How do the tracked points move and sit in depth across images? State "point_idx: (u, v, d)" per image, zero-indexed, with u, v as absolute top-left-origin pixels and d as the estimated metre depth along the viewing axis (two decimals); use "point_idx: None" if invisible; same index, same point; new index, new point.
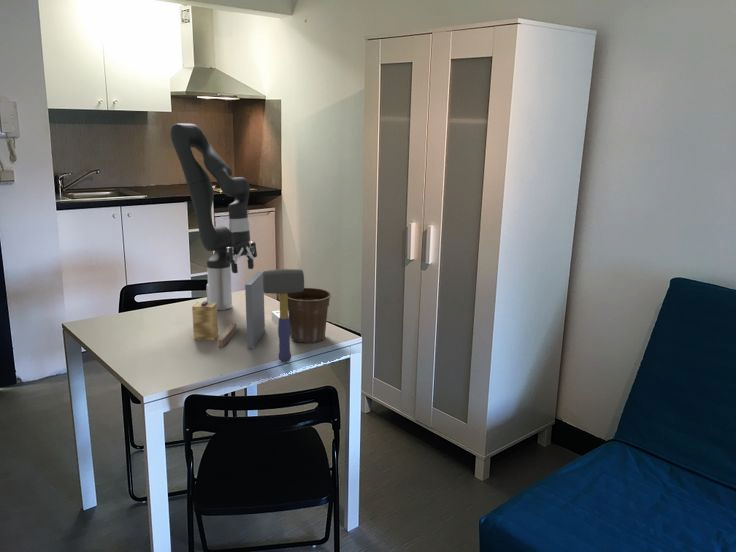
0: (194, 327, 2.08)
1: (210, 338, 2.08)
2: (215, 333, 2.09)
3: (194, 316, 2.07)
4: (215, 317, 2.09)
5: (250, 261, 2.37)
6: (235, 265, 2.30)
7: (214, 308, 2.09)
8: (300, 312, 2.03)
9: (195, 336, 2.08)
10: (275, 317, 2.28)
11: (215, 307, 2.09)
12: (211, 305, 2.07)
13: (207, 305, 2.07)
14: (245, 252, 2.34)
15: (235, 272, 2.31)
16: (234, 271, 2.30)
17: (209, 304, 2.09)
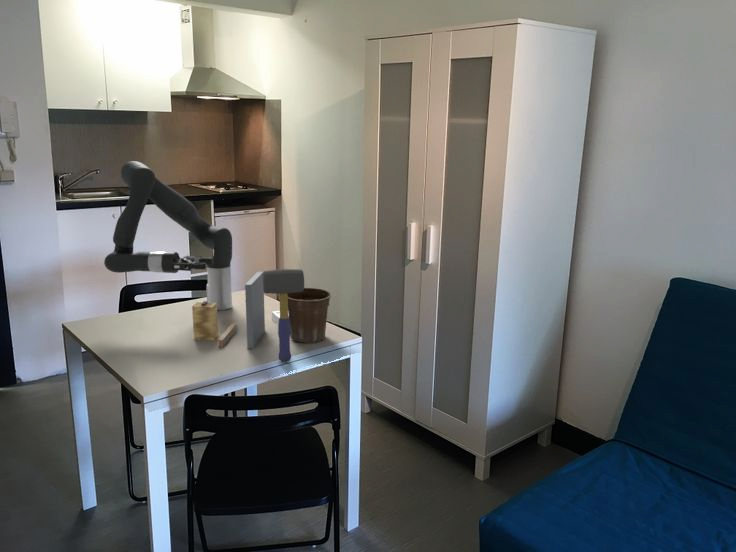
0: (194, 327, 2.08)
1: (210, 338, 2.08)
2: (215, 333, 2.09)
3: (194, 316, 2.07)
4: (215, 317, 2.09)
5: None
6: None
7: (214, 308, 2.09)
8: (300, 312, 2.03)
9: (195, 336, 2.08)
10: (275, 317, 2.27)
11: (215, 307, 2.09)
12: (211, 305, 2.07)
13: (207, 305, 2.07)
14: None
15: None
16: None
17: (209, 304, 2.09)
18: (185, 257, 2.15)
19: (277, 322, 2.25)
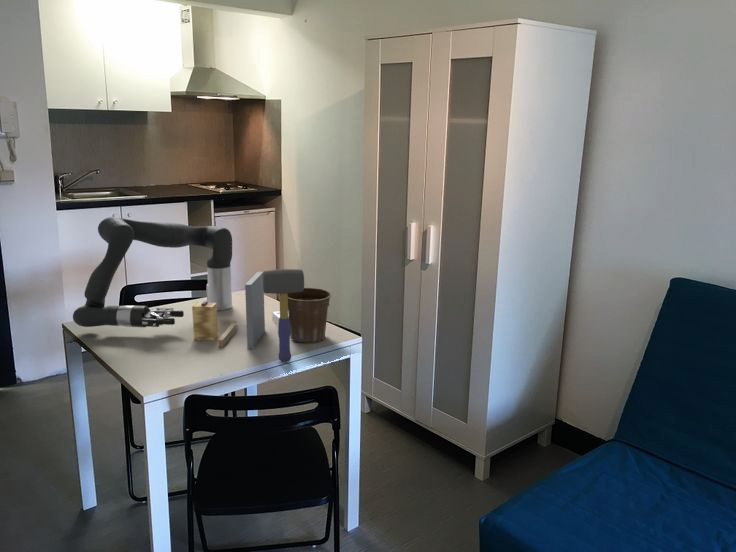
0: (194, 327, 2.08)
1: (210, 338, 2.08)
2: (215, 333, 2.09)
3: (194, 316, 2.07)
4: (215, 317, 2.09)
5: None
6: None
7: (214, 308, 2.09)
8: (300, 312, 2.03)
9: (195, 336, 2.08)
10: (275, 317, 2.27)
11: (215, 307, 2.09)
12: (211, 305, 2.07)
13: (207, 305, 2.07)
14: None
15: None
16: None
17: (209, 304, 2.09)
18: (155, 311, 2.10)
19: (277, 323, 2.25)
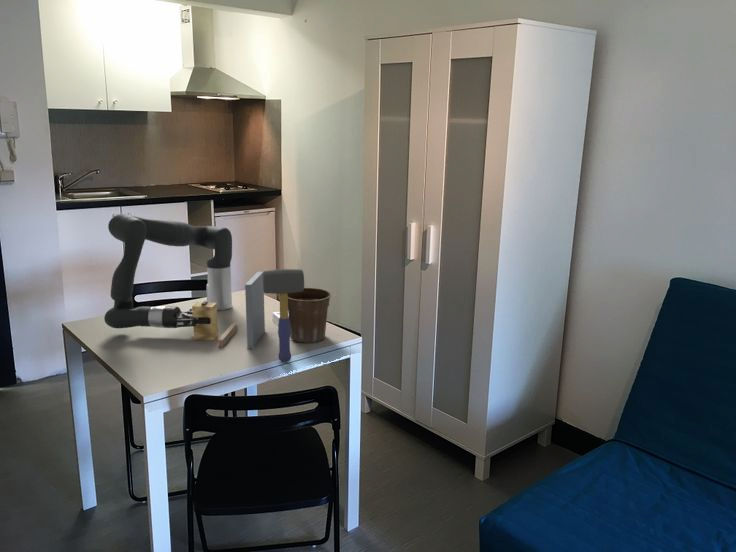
0: (194, 327, 2.08)
1: (210, 338, 2.08)
2: (215, 333, 2.09)
3: (194, 316, 2.07)
4: (215, 317, 2.09)
5: None
6: None
7: (214, 308, 2.09)
8: (300, 312, 2.03)
9: (195, 336, 2.08)
10: (276, 318, 2.26)
11: (215, 307, 2.09)
12: (211, 305, 2.07)
13: (207, 305, 2.07)
14: None
15: None
16: None
17: (209, 304, 2.09)
18: (186, 312, 2.10)
19: (278, 323, 2.24)
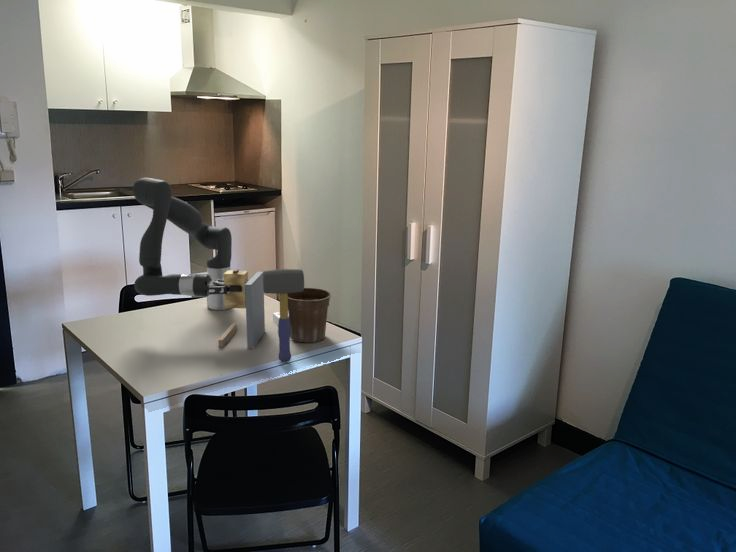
0: (225, 295, 2.04)
1: (241, 306, 2.05)
2: None
3: (225, 284, 2.03)
4: None
5: None
6: None
7: (246, 276, 2.05)
8: (300, 312, 2.03)
9: (226, 304, 2.05)
10: (276, 318, 2.26)
11: (246, 275, 2.06)
12: (243, 273, 2.04)
13: (238, 273, 2.04)
14: None
15: None
16: None
17: (240, 272, 2.05)
18: (216, 280, 2.06)
19: None
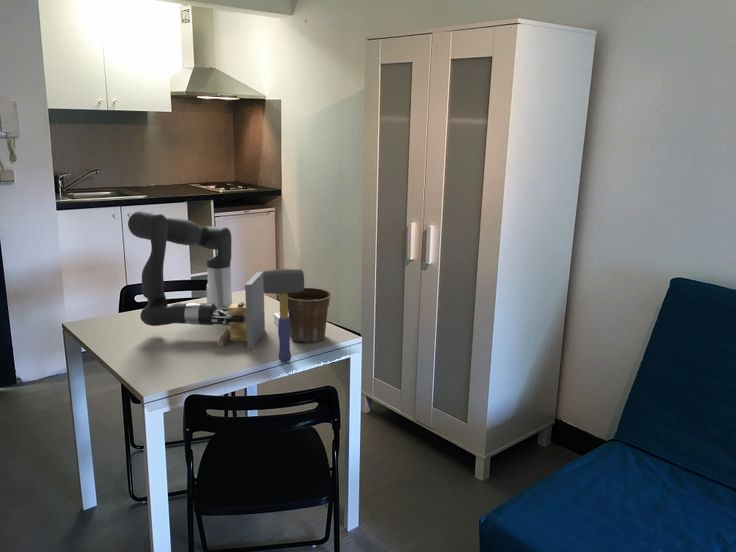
0: (231, 328, 2.07)
1: (246, 339, 2.08)
2: None
3: None
4: None
5: None
6: None
7: None
8: (300, 312, 2.03)
9: (231, 337, 2.08)
10: (277, 319, 2.25)
11: None
12: None
13: (243, 306, 2.07)
14: None
15: None
16: None
17: (245, 305, 2.08)
18: (222, 309, 2.09)
19: None
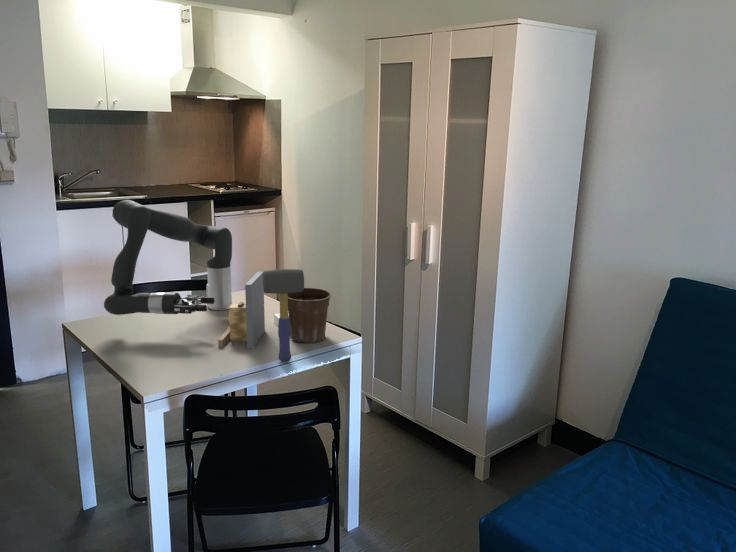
0: (231, 328, 2.07)
1: (246, 339, 2.08)
2: None
3: (230, 317, 2.06)
4: None
5: None
6: None
7: None
8: (300, 312, 2.03)
9: (231, 337, 2.08)
10: (277, 319, 2.24)
11: None
12: None
13: (243, 306, 2.07)
14: None
15: None
16: None
17: (245, 305, 2.08)
18: (186, 298, 2.09)
19: None
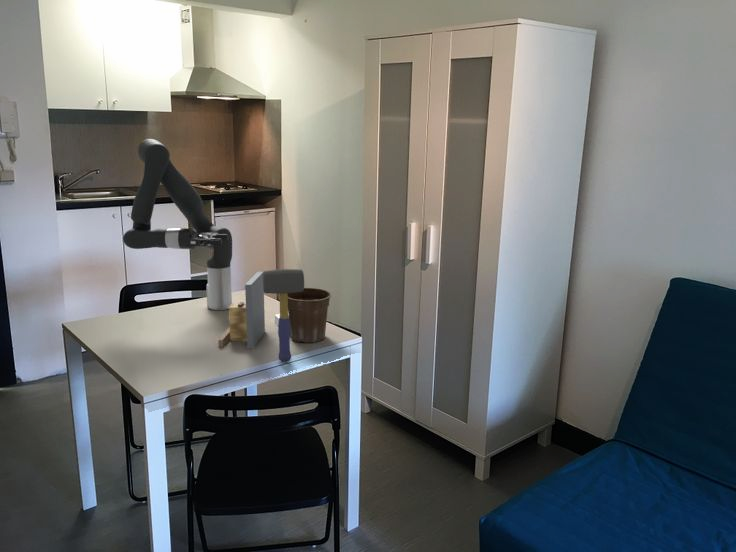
0: (231, 328, 2.07)
1: (246, 339, 2.08)
2: None
3: (230, 317, 2.06)
4: None
5: None
6: None
7: None
8: (300, 312, 2.03)
9: (231, 337, 2.08)
10: (278, 320, 2.24)
11: None
12: None
13: (243, 306, 2.07)
14: None
15: None
16: None
17: (245, 305, 2.08)
18: (201, 233, 2.19)
19: None
